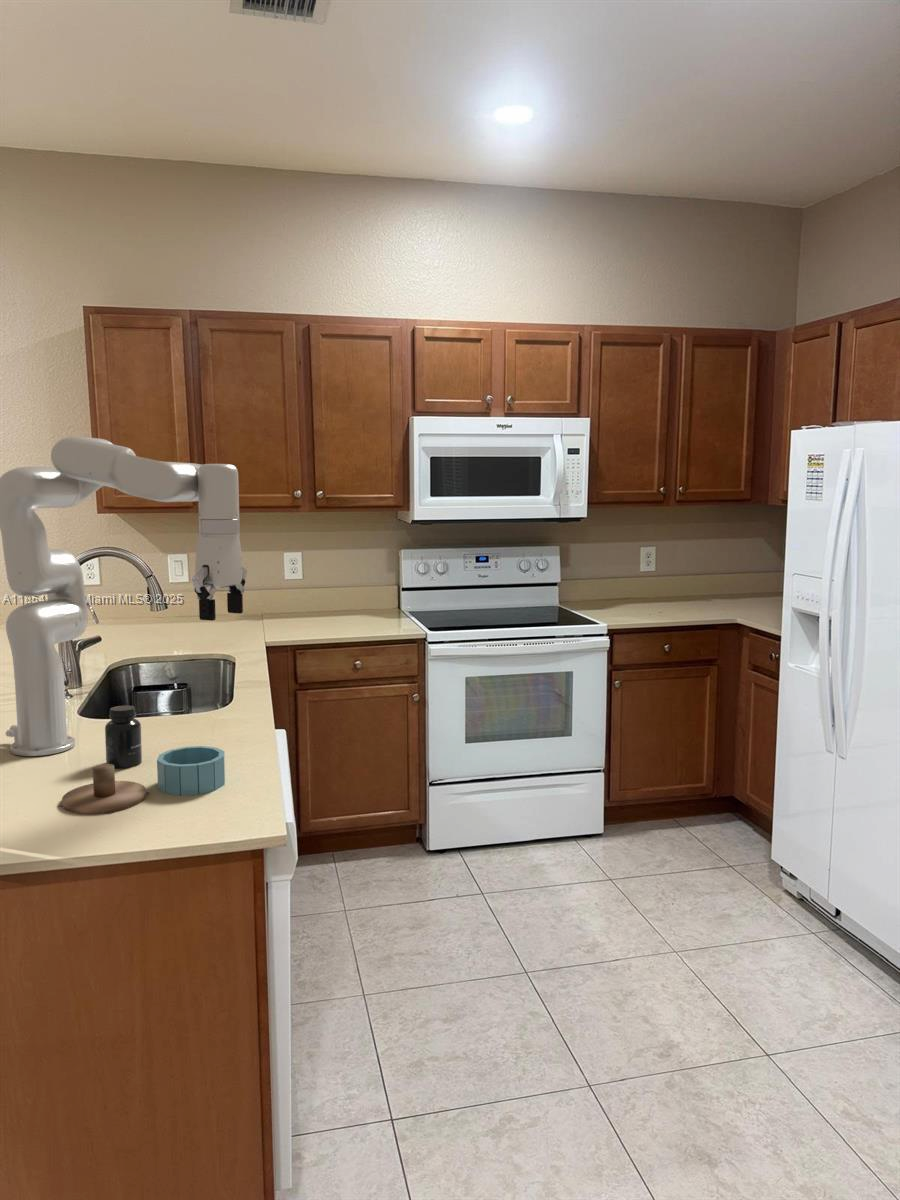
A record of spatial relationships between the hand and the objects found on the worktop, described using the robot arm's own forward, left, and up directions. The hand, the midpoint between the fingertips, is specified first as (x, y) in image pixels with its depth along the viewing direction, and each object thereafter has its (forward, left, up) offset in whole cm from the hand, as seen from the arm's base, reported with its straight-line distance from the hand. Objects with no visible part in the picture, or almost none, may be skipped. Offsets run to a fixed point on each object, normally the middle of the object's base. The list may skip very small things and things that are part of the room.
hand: (221, 616), depth 167 cm
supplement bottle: (-21, -4, -31) cm, 38 cm away
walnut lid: (-11, -22, -31) cm, 39 cm away
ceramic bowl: (-1, -10, -31) cm, 33 cm away
